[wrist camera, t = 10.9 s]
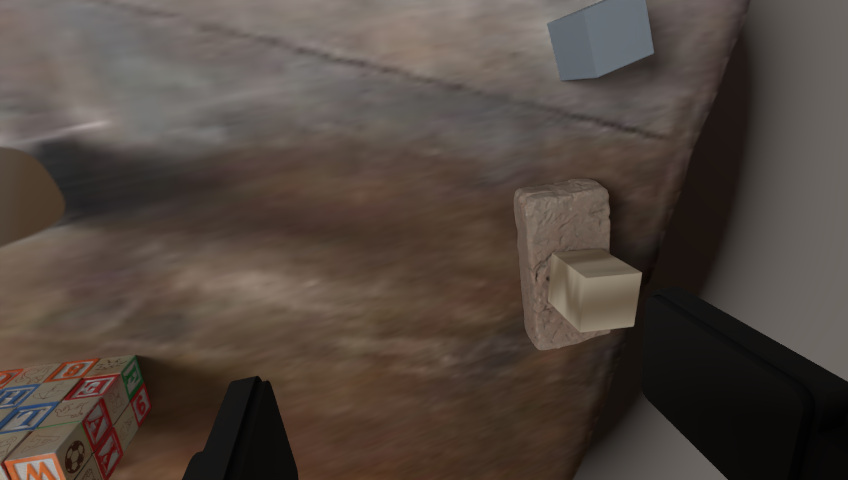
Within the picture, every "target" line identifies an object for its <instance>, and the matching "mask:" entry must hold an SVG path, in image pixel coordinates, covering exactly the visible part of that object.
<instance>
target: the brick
mask: <svg viewBox="0 0 848 480" xmlns="http://www.w3.org/2000/svg"><path fill="white" fill-rule="evenodd" d="M608 201H609V194H608V191H607V189H605V188H603V186H601V185H600V184H599V183H598V182H596V181H595V180H591V179H589V178H584V179H583V178H578V179H570V180H569V181H564V182H555V183H554V184H548V185H546V184H544V186H542V185H541V186H535V187H531V186H530V187H524V188H520V189H518V190H516V192H515V197H514V213H515V221H516V226H517V229H518V242H517V248H518V251H519V259H520V262H519V266H520V278H521V293H522V297H523V299H522V300H523V310H524V324H525V329H526V332H527V334H528V336H529V338H530V339H531V340H532V342H533V344H534V345H535V347H536V348H537V349H539V350H549V349H553V348H561V347H564V346H568V345H572V344H576V343H580V342H583V341H585V340H587V339H590V338H593V337H595V336H599V335H604V334H607V333H610V330H611V329H607V330H598V331H590V332H581V333H580V332H579V331H578V330H577V329H576V328H575V327H574V326H573V325H572V324H571V323H570V322H569V321H568V320H567V319H566V318H565V317H564V316H563V315H562V314H561V313H560V312H559V311H558V310H557V309H556V308H555V307H554V306H553V305H552V304H551V303H550V302H548V293H549V281H550V269H551V257H552V253H556V252H567V251H579V250H591V249H602V250H604V251H606V252H607V253H609V254H610V250H609V247H610V219H609V215H610V206H609V203H608Z"/></svg>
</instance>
